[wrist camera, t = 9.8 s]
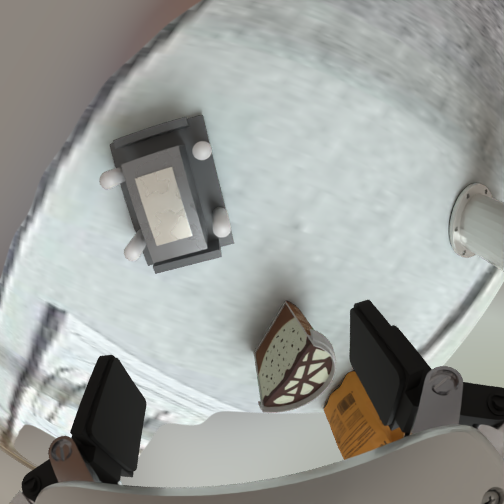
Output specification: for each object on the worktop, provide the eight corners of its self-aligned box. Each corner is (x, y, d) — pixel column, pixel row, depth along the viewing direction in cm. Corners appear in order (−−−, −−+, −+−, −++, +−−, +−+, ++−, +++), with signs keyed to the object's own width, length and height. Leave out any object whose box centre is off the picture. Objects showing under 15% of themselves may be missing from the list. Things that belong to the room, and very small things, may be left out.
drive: (185, 144, 26) (177, 145, 20) (207, 227, 30) (207, 249, 24) (138, 159, 26) (120, 164, 20) (163, 240, 29) (153, 264, 24)
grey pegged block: (203, 115, 26) (202, 108, 21) (234, 240, 31) (239, 262, 26) (111, 144, 25) (90, 146, 20) (148, 263, 31) (137, 287, 26)
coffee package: (388, 367, 45) (446, 454, 25) (355, 409, 49) (396, 493, 29) (348, 365, 42) (406, 471, 22) (315, 410, 46) (352, 507, 26)
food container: (285, 368, 40) (303, 419, 31) (249, 359, 39) (260, 414, 29) (329, 303, 37) (361, 351, 28) (290, 290, 35) (316, 341, 26)
